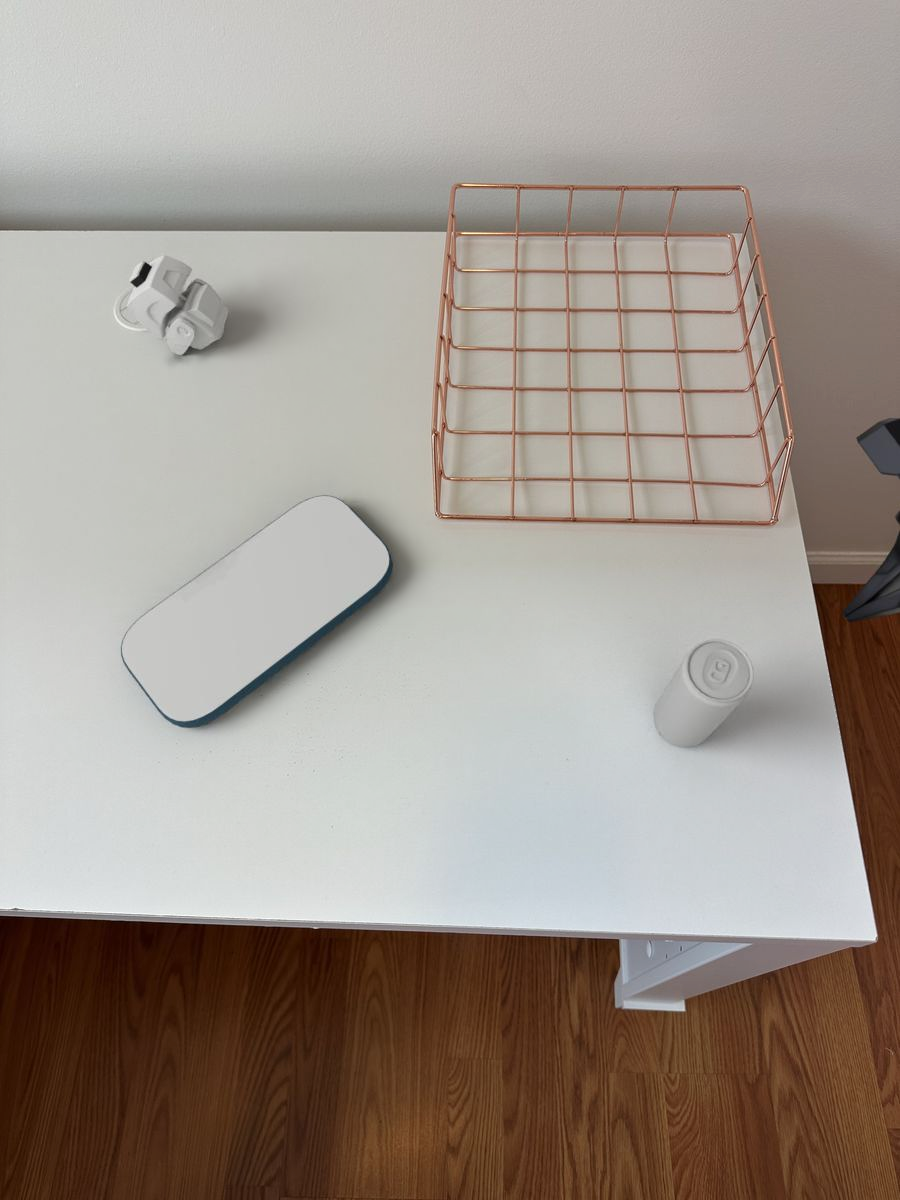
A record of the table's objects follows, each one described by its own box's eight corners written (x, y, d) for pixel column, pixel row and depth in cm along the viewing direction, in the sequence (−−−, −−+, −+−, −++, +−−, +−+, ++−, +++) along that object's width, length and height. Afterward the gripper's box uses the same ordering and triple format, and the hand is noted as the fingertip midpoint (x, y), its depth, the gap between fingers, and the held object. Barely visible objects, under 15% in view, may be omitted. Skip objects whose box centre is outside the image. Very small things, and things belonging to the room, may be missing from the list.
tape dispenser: (212, 326, 90) (129, 263, 84) (247, 303, 85) (161, 234, 79) (194, 369, 87) (107, 308, 81) (229, 347, 83) (140, 280, 77)
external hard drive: (187, 746, 68) (179, 740, 66) (114, 648, 72) (104, 640, 70) (408, 574, 74) (406, 564, 72) (330, 492, 78) (326, 480, 76)
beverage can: (720, 708, 68) (765, 655, 57) (698, 760, 66) (741, 715, 56) (664, 682, 69) (699, 625, 58) (642, 732, 67) (673, 683, 57)
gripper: (957, 322, 47) (727, 492, 55) (1197, 604, 39) (888, 750, 48) (998, 373, 55) (792, 514, 63) (1204, 615, 47) (938, 738, 56)
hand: (846, 617), depth 57 cm, fingers closed
